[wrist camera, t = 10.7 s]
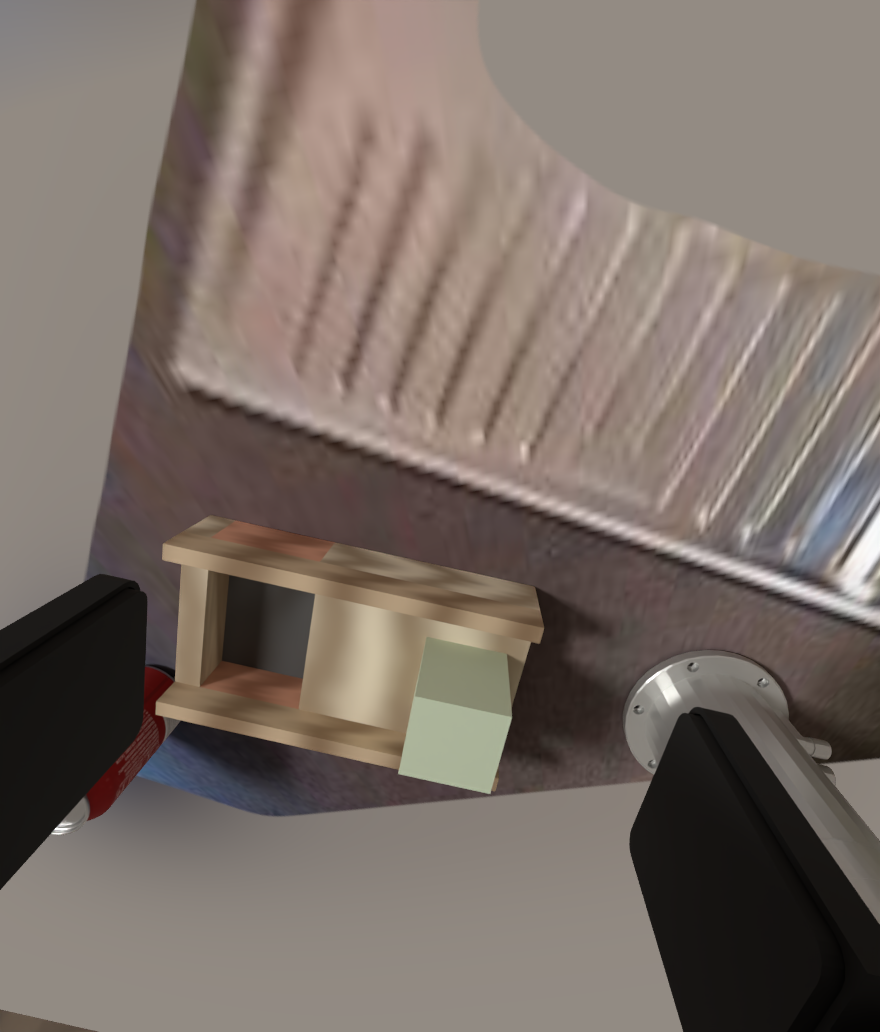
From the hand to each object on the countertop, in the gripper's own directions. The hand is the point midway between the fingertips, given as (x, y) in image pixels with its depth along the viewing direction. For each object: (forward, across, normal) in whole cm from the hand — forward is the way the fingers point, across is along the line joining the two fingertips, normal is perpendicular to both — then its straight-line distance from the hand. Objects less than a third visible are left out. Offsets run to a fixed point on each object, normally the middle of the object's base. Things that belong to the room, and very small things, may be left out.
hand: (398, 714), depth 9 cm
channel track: (+30, +5, +17) cm, 35 cm away
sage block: (+26, -4, +17) cm, 32 cm away
